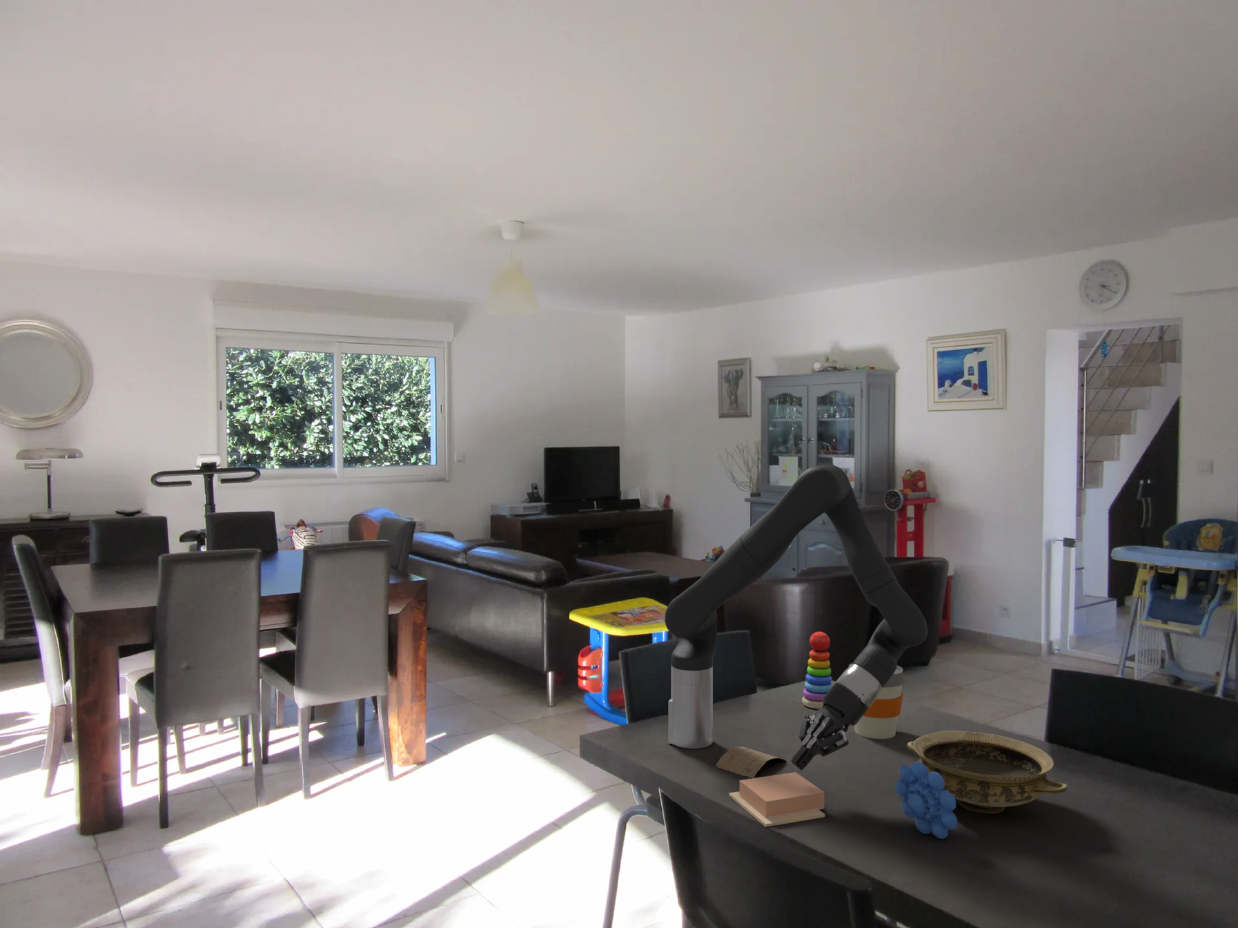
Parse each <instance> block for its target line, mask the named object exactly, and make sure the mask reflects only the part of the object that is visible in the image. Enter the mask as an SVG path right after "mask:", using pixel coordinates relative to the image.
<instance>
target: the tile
mask: <svg viewBox="0 0 1238 928" xmlns="http://www.w3.org/2000/svg"><path fill="white" fill-rule="evenodd" d="M738 792H739V795H740V797H742V798H743V799H744V800H745V801H746V802H747V803H749V804H750V805H751V806H752V807H753V808H755V809H756V810H757V811H758V812H759V813H761V814H762V815H763V816H764V817H765V818H769V817H775V816H781V815H787V814H793V813H799V812H805V811H811V810H817V809H819V810H823V809H824V808H825V791H823V790H822V789H820V788H819V787H817V786H816V785H815V784H814V783H812V782H810V781H809V780H808V779H806V778H805V777H804V776H802V775H800V774H799V773H797V772H796V771H793V772H788V773H781V774H773V775H766V776H760V777H754V778H753V779H751V778H747V779H741V780H739V791H738Z"/></svg>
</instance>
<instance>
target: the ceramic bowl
mask: <svg viewBox="0 0 1238 928" xmlns="http://www.w3.org/2000/svg"><path fill="white" fill-rule="evenodd" d="M906 747H907V748H908V750H910V751H911V752H912V753H913V754H915V755H916V756H917V757H919V760H918V762H921V763H923V764H924V765H925V766H926V767H927V769H928V772H929V773H930V772H937V773H939V774H940V775H941V776H942V778H943V780H944V783H945V786H944V789H943V790H946V791H949V792H950V793H951V794H952V795H953V796H954V798H955V800H956V803H958V804H959V805H960V806H961V807H962V808H965V809H967V810H968V811H972V812H976V813H982V814H983V813H984V814H998V813H1001V812H1004V810H1005V809H1006V808H1007V807H1015V806H1020V805H1024V804H1029V803H1030V802H1033V801H1034V800H1036V799H1038V798H1039V797H1040V796H1042V795H1043V794H1044V795H1059V794H1062V793H1065V792H1067V790H1068V785H1067V784H1066V783H1064V782H1060V781H1055V780H1049V779H1048V777H1047V773H1049V772H1050V771H1051V770H1052V769H1053V768H1054V764H1055V763H1054V760H1053V758H1052V756H1051V755H1050V754H1048V753H1047V752H1045V751H1044V750H1043V749H1041V748H1039V747H1038V746H1035V745H1033V744H1030V743H1027V742H1025V741H1022V740H1019V739H1016V738H1012V737H1007V736H1004V735H999V734H993V733H988V732H987V733H986V732H979V731H966V730H965V731H964V730H941V731H935V732H929V733H927V734H923V735H921V736H920V737H918V738H916V739H915V740H914V741H909V742H908V743H906ZM1047 787H1052V788H1047ZM943 790H942V791H943Z"/></svg>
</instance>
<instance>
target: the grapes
mask: <svg viewBox="0 0 1238 928" xmlns="http://www.w3.org/2000/svg"><path fill="white" fill-rule="evenodd" d="M898 774H899V777H900V779H898V780H897V781H896V782H895V784H894V788H895V792H896V794H897V795H898V796H899V797H900V798H902V799H903V801H901V805H900V807H901V811H902V812H903V814H904V815H905V816H906V817H907V818H909V819H914V824H915V827H916V829H917V830H918V831H919V832H920V833H921V834H924V835H929V834H931V833H932V834H933V836H935V838H938V839H941V840H943V839H945V838H946V837H948V836H949V835H948V833H949V830H955V829H956V828H957V826H958V818H957V816H956V814H955V813H954V812H953V811H954V810H955V809H956V807H957V799H956V798H954V796H953V795H952V794H951V793H950V792H949V791H946V790H943V789H944V786H945V783H944V780H943V778H942V776H941V775H940V774H939V773H937V772H930V773H929V772H928V769H927V767H926V766H925V765H924V764H923V763H921V762H919V761H914V762H913V764H912V765H911V766H909V765H907V764H903V765H902V766H901V767H899V770H898ZM942 790H943V791H942Z"/></svg>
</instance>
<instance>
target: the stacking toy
mask: <svg viewBox="0 0 1238 928" xmlns="http://www.w3.org/2000/svg"><path fill="white" fill-rule="evenodd" d="M809 645H810V647H811V648H812V650H810V651H809V655H808V656H809V657H810V658H809V659H808V660H807V665H808V666H807V669H806V671H807V674H805V680H806V681H805V682H804V689H803V691H802V696H803V697H802V698H801V702H802V704H803V706H806V707H808V708H810V709H815V710H816V709H817V710H819V709H821V708H822V707H823V697H824V696H825V695H826V694H827V692H828V691H829V690H830V689H831V687H832V686H833V685H834V684H833V683H832V681H833V677H832V676H831V674H832V669H831V667H830V666H831V663H830V660H829V659H830V655H831V654H830V652H829V651H827V650H828V649H829V647H830V645H831V639H830V637H829V635H828V634H827V633H825V632H823V631H816V632H813V633H812V634H811V635H810V638H809Z"/></svg>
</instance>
